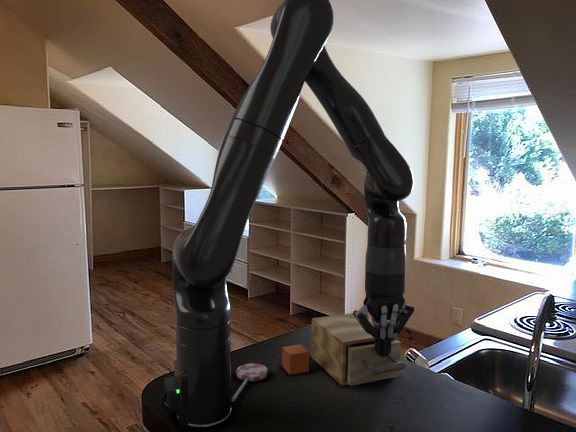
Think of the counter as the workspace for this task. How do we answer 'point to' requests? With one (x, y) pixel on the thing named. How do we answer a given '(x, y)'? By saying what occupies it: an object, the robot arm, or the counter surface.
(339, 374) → the cabinet
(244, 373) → the lollipop
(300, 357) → the block
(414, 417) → the counter surface
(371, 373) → the drawer
